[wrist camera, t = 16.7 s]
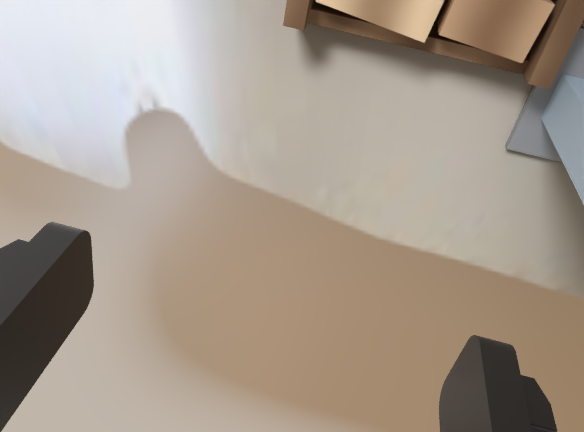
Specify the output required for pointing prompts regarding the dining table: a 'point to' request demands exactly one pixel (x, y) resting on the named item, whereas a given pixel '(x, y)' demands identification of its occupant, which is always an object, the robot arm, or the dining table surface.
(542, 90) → the mat
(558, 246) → the dining table surface
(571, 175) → the pale blue tall prism
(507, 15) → the offcut short
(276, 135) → the dining table surface
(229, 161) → the dining table surface
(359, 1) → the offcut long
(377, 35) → the rack
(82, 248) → the robot arm
